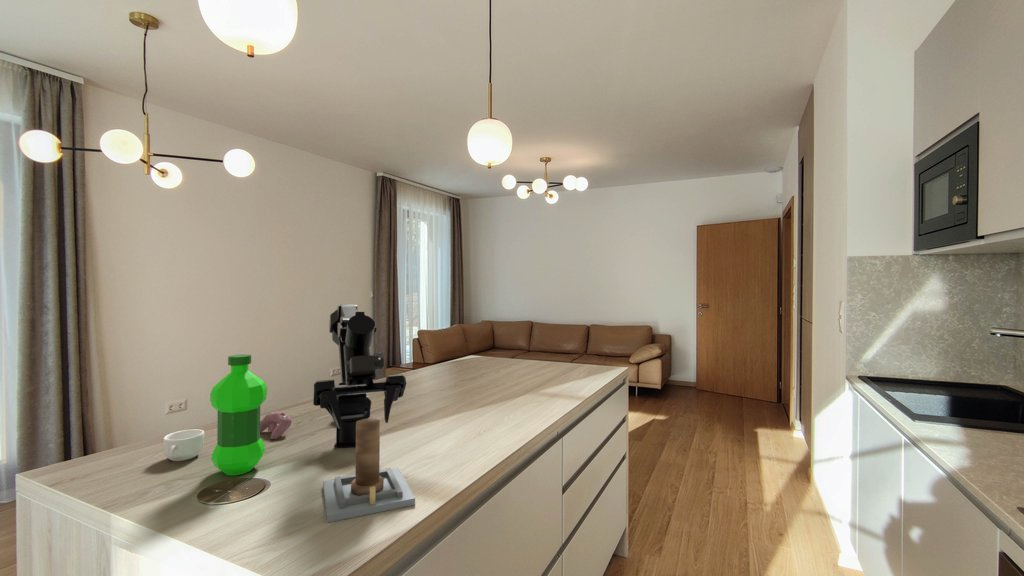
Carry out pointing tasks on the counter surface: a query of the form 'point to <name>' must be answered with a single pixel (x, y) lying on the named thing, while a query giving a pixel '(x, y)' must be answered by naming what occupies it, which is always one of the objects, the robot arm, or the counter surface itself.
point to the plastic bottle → (238, 418)
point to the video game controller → (275, 423)
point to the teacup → (183, 444)
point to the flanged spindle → (367, 457)
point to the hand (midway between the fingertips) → (364, 424)
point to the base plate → (366, 496)
